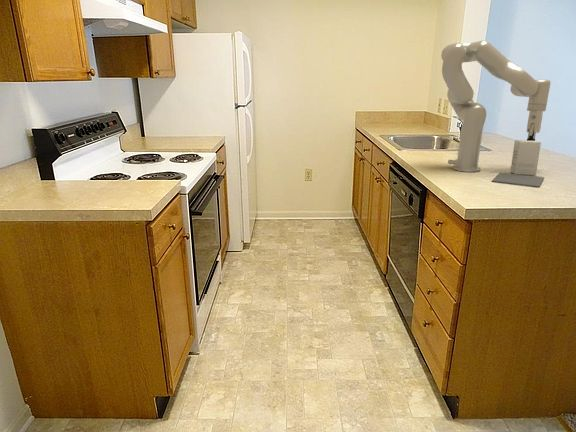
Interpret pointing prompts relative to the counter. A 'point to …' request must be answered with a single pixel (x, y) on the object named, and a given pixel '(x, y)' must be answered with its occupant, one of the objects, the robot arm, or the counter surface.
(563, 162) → the counter surface
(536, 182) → the mat
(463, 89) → the robot arm
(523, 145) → the supplement box
